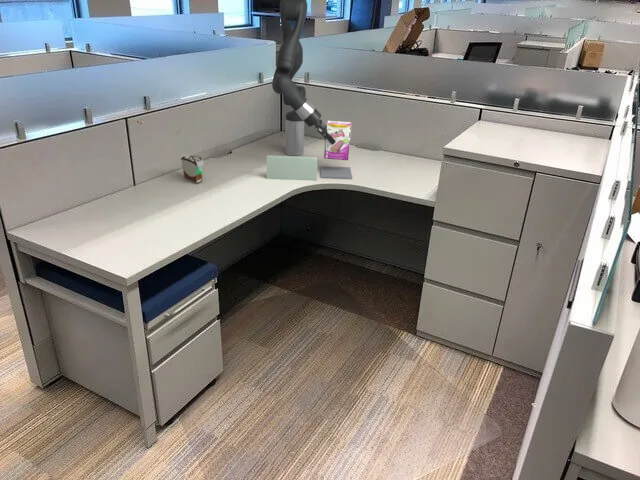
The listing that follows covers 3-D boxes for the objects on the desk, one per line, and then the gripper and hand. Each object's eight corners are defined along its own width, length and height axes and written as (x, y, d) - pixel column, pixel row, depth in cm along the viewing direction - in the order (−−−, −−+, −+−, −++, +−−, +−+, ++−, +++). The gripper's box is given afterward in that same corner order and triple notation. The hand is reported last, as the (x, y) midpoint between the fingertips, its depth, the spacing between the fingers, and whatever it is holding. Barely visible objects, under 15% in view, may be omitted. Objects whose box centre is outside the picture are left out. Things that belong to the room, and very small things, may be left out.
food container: (211, 181, 216) (209, 159, 212) (198, 185, 212) (197, 162, 208) (194, 174, 224) (192, 152, 219) (182, 177, 219) (180, 155, 215)
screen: (267, 177, 224) (267, 155, 219) (316, 178, 225) (317, 157, 220) (266, 178, 222) (266, 156, 218) (316, 180, 223) (317, 158, 218)
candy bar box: (323, 159, 227) (325, 122, 219) (324, 155, 231) (326, 120, 223) (348, 160, 226) (351, 124, 218) (349, 157, 230) (351, 121, 223)
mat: (320, 167, 238) (320, 166, 238) (350, 168, 239) (350, 167, 238) (321, 178, 226) (321, 176, 225) (352, 179, 226) (352, 177, 226)
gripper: (314, 111, 212) (341, 140, 218) (314, 103, 225) (339, 131, 230) (301, 123, 214) (328, 151, 220) (302, 115, 227) (327, 142, 233)
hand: (333, 141), depth 225 cm, fingers closed on candy bar box, 5 cm apart
